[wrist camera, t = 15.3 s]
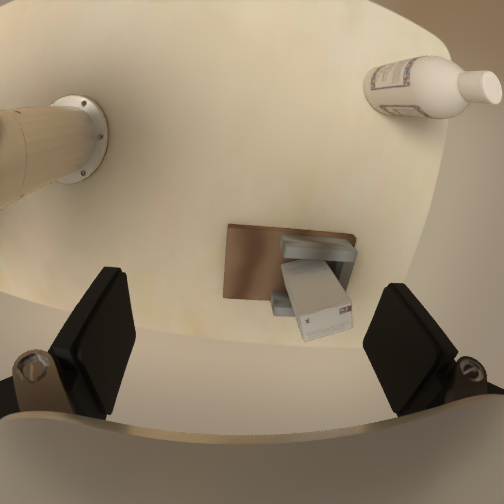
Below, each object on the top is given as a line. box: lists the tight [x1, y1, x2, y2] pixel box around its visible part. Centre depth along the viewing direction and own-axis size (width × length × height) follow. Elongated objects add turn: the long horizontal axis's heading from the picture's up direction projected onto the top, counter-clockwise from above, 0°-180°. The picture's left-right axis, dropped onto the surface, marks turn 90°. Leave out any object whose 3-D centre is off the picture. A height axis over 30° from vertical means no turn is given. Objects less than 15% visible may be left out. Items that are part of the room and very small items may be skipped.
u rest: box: [223, 224, 357, 316], centre depth 39 cm, size 18×11×6 cm, turn 85°
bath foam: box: [364, 56, 502, 119], centre depth 22 cm, size 7×7×20 cm
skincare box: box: [281, 259, 352, 342], centre depth 35 cm, size 6×4×12 cm
